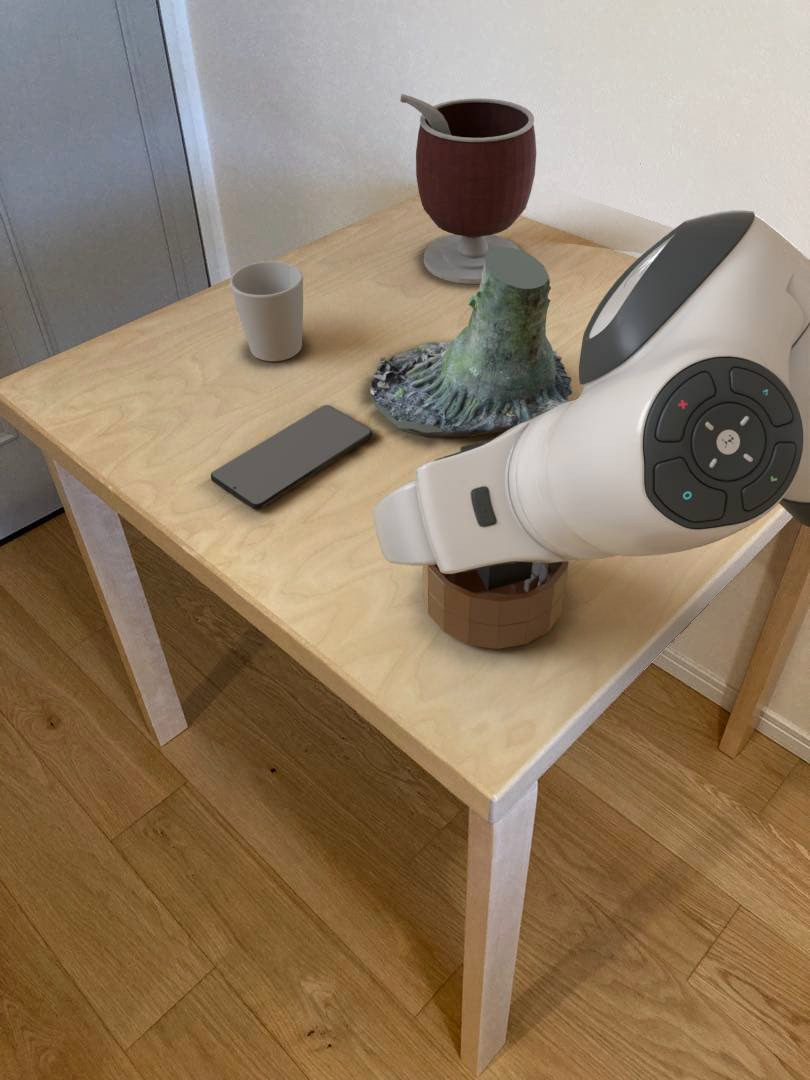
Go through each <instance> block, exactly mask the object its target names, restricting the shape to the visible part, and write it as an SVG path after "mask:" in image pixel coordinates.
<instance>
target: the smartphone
mask: <svg viewBox="0 0 810 1080" xmlns="http://www.w3.org/2000/svg"><path fill="white" fill-rule="evenodd" d="M372 436H373V430H372V429H371V428H370V427H368V426H366V425H365V424H363V423H361V422H360V421H357V420H356V419H354V418H352V417H350V416H348V415H347V414H345V413H343V412H342V411H340V410H338V409H337V408H335V407H333V406H331V405H328V404H324V405H322V406H320V407H318V408H316V409H315V410H313V411H312V412H310V413H308V414H307V415H305V416H303V417H302V418H299V419H298V420H296V421H295V422H293V423H292V424H290V425H288V426H287V427H285V428H283V429H282V430H280V431H278V432H276V433H274V434H273V435H272V436H270V437H269V438H266V439H265V440H263V441H262V442H260V443H258V444H257V445H254V446H253V447H252V448H250V449H248V450H246V451H245V452H243V453H241V454H240V455H238V456H236V457H234V458H233V459H231V460H230V461H228V462H226V463H225V464H223V465H221V466H220V467H218V468H216V469H215V470H213V471H212V472H211V473H210V480H211V482H213V483H214V484H215V485H217V486H218V487H220V488H221V489H222V490H224V491H225V492H227V493H228V494H230V495H231V496H233V497H234V498H236V499H237V500H238V501H240V502H242V503H243V504H245V505H246V506H248V507H249V508H250V509H252V510H255V511H258V510H262V509H263V508H265V507H266V506H268V505H269V504H271V503H273V502H274V501H275V500H277V499H278V498H280V497H282V496H284V495H285V494H287V493H288V492H289V491H291V490H292V489H294V488H296V487H297V486H299V485H300V484H302V483H303V482H305V481H306V480H308V479H309V478H311V477H313V476H314V475H316V474H317V473H318V472H320V471H322V470H323V469H325V468H327V467H329V465H331V464H332V463H334V462H336V461H337V460H339V459H341V457H344V456H345V455H347V454H348V453H349V452H351V451H353V450H354V449H355V448H357V447H359V446H361V445H362V444H363V443H365V442H366V441H368V440H370V439H371V438H372Z"/></svg>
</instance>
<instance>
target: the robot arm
mask: <svg viewBox="0 0 810 1080" xmlns="http://www.w3.org/2000/svg"><path fill="white" fill-rule="evenodd" d="M578 380H579V385H582V387H583V388H582V392H581V393H580V395H578V397H577V398H576V399H574V400H570V401H567V402H566V403H563V404H561V405H558V406H557V407H555V408H553V409H551V410H549V411H547V412H545V413H543V414H540V415H538V416H536V417H534V418H532V419H531V420H529V421H527V422H523V423H521V424H519V425H516V426H514V427H513V428H511V429H509V430H506V431H503V433H501V434H499V435H498V436H496V437H494V438H493V439H494V440H492V441H490V442H489V443H486V442H485V443H482V444H480V445H478V446H475V447H472V448H470V449H467V450H464V451H461V452H460V451H457V452H455V453H451V454H449V455H445V456H441V457H439V458H436V459H433V461H429V462H426V463H423V464H421V465H419V466H418V467H416V468H415V470H414V480H412V481H410V482H408V483H406V484H404V485H402V486H399V487H398V488H396V489H394V490H393V491H391V492H390V493H389V494H387V495H386V496H385V497H383V498H382V499H381V500H379V501H378V502H377V503H376V504H375V505H374V507H373V508H372V521H373V524H374V530H375V534H376V537H377V540H378V544H379V547H380V548H379V549H380V551H381V554H382V556H383V558H384V560H386V562H388V563H390V564H395V565H403V566H417V567H418V566H421V567H422V566H423V565H434V564H437V565H438V567H439V569H440V572H442V573H444V574H453V573H458V572H468V571H473V570H477V569H482V568H487V567H492V566H497V565H503V564H513V563H517V562H536V563H554V562H565V561H569V562H578V561H592V560H593V561H594V560H605V559H610V558H614V557H617V556H620V557H629V558H630V557H632V558H633V557H637V558H638V557H651V556H652V557H653V556H660V555H661V556H662V555H663V556H664V555H669V554H675V553H676V554H677V553H681V552H682V553H683V552H686V551H690V550H693V549H697V548H701V547H704V546H705V547H706V546H709V545H711V544H714V543H717V542H719V541H721V540H723V539H726V538H728V537H731V536H733V535H735V534H736V533H738V532H741V531H742V530H745V529H746V528H748V527H750V526H751V525H753V524H755V523H757V522H758V521H759V520H760V519H762V518H763V517H765V516H766V515H768V514H769V513H770V512H771V511H772V510H773V509H775V508H776V507H777V506H778V505H780V506H781V507H782V508H783V509H784V510H785V511H786V512H787V513H788V514H789V515H791V517H793V518H794V520H796V521H797V522H798V523H799V524H801V525H803V526H806V527H808V528H810V258H809V256H807V255H806V254H805V253H804V252H802V250H800V249H799V248H798V247H797V246H796V245H795V244H793V243H792V242H791V241H790V240H789V239H788V238H786V236H784V235H783V234H782V233H780V231H778V229H776V228H775V227H773V226H772V224H770V223H769V222H767V221H765V220H764V219H763V218H761V217H760V216H758V215H757V214H755V212H754V211H753V210H744V209H742V210H741V209H732V210H731V209H730V210H721V211H717V212H713V213H708V214H703V215H700V216H697V217H694V218H693V217H692V218H689V219H687V220H685V221H683V222H681V224H679V225H678V226H676V227H675V228H674V229H672V230H671V231H670V232H668V233H667V234H666V235H664V236H663V237H662V238H660V239H659V240H658V241H657V242H655V244H653V245H652V246H651V247H649V249H647V250H646V251H645V252H644V253H643V254H642V255H640V256H639V257H638V258H637V259H636V260H635V261H634V262H633V263H632V264H631V265H630V266H628V268H627V269H626V270H625V271H624V272H623V273H622V274H621V275H620V277H618V278H617V279H616V281H615V282H614V283H613V285H611V287H610V289H609V290H608V291H607V292H606V293H605V295H604V296H603V298H602V299H601V301H600V302H599V304H598V305H597V307H596V308H595V311H594V312H593V314H592V316H591V317H590V320H589V322H588V324H587V326H586V327H585V330H584V332H583V335H582V341H581V347H580V354H579V361H578Z"/></svg>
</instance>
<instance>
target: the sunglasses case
mask: <svg viewBox="0 0 810 1080" xmlns="http://www.w3.org/2000/svg"><path fill="white" fill-rule="evenodd" d="M494 439H495V438H491V439H487V440H483V441H478V442H475V443H471V444H466V445H462V446H460V447H459V452H461V451H464V450H467V449H470V448H472V447H475V446H478V445H480V444H482V443H485V442H486V443H489V442H490V441H492V440H494ZM532 565H533V562H517V563H513V564H503V565H497V566H492V567H487V568H482V569H477V570H476V571H477V573H478V574H479V576H480V578H481V579H482V581H483V583H484V585H485V586H486V588H487V590H492V589H495V588H499V587H502V586H506V585H510V584H513V583H517V582H520V581H524V580H527V579H531V573H532Z"/></svg>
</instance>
